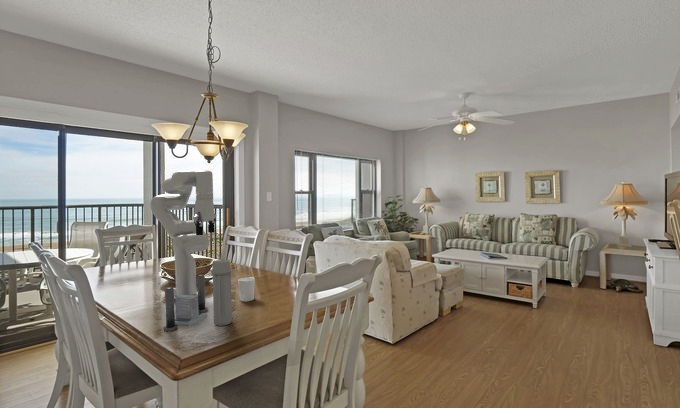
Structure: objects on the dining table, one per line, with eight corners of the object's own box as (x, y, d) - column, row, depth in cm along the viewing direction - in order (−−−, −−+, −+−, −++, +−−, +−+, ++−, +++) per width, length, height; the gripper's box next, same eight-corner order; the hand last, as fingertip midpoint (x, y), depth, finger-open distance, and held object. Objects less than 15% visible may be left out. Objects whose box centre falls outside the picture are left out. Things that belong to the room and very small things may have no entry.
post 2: (193, 312, 157) (192, 276, 156) (200, 309, 162) (199, 274, 161) (203, 313, 156) (202, 276, 155) (210, 309, 161) (209, 274, 160)
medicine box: (198, 316, 149) (198, 295, 149) (191, 319, 145) (191, 298, 145) (182, 314, 152) (182, 294, 151) (175, 318, 147) (174, 297, 147)
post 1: (160, 331, 136) (159, 289, 136) (169, 326, 141) (167, 286, 140) (172, 332, 135) (170, 290, 135) (180, 327, 140) (179, 286, 139)
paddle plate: (166, 323, 144) (166, 320, 144) (183, 314, 155) (183, 311, 155) (191, 325, 142) (191, 321, 142) (206, 315, 153) (206, 312, 153)
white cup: (250, 302, 171) (250, 281, 170) (235, 301, 172) (235, 280, 172) (257, 297, 178) (257, 277, 178) (243, 296, 180) (242, 277, 180)
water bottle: (215, 320, 147) (213, 259, 146) (234, 319, 147) (233, 259, 147) (209, 329, 138) (207, 264, 137) (230, 328, 138) (228, 263, 138)
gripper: (207, 197, 176) (208, 231, 177) (185, 197, 159) (187, 236, 160) (221, 196, 175) (222, 231, 175) (201, 197, 158) (202, 236, 158)
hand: (205, 233), depth 167 cm, fingers open, 9 cm apart
